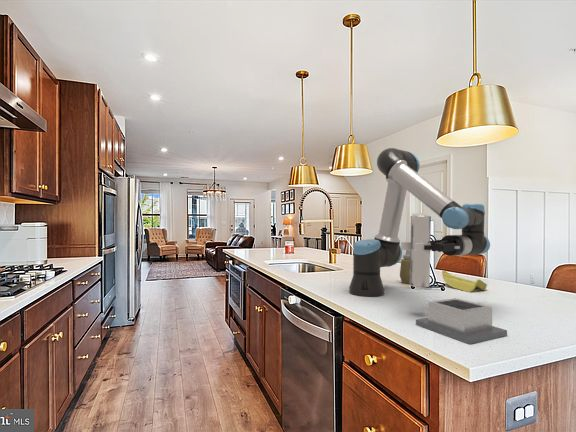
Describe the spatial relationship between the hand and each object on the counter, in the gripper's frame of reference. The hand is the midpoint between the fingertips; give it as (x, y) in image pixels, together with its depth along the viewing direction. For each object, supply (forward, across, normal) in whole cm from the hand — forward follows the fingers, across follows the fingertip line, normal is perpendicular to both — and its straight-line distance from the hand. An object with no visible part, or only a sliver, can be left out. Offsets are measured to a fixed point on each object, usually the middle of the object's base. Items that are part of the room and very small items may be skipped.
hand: (408, 246), depth 112 cm
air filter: (-5, 0, -14) cm, 15 cm away
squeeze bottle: (-45, +44, -24) cm, 67 cm away
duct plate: (-3, -17, -23) cm, 29 cm away
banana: (-61, +25, -24) cm, 70 cm away
